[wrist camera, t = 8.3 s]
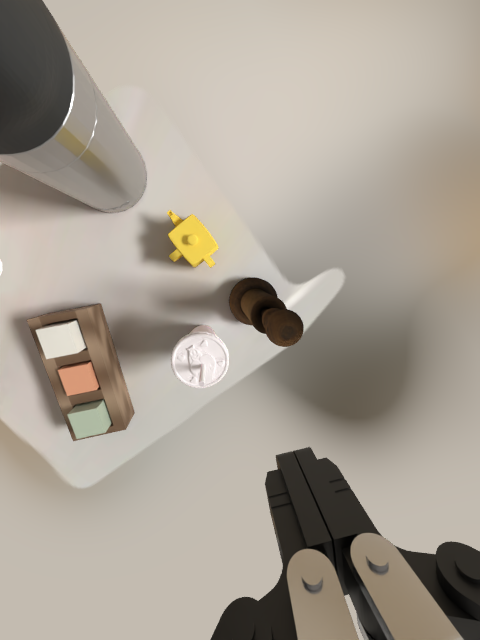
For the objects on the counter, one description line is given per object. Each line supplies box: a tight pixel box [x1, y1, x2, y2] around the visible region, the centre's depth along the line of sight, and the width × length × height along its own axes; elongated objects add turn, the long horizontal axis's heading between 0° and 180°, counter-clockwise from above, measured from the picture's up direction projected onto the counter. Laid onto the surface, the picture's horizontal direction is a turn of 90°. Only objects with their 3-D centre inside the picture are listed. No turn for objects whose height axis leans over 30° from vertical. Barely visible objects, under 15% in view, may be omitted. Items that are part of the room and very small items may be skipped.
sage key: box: [67, 399, 112, 439], centre depth 33 cm, size 4×4×3 cm
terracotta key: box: [58, 360, 100, 396], centre depth 33 cm, size 4×4×3 cm
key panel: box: [27, 304, 135, 441], centre depth 34 cm, size 17×7×4 cm, turn 11°
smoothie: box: [171, 325, 229, 388], centre depth 30 cm, size 6×6×14 cm
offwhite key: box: [35, 319, 87, 359], centre depth 31 cm, size 4×4×3 cm
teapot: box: [167, 210, 218, 268], centre depth 31 cm, size 8×6×5 cm
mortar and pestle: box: [229, 278, 303, 347], centre depth 28 cm, size 7×6×18 cm
